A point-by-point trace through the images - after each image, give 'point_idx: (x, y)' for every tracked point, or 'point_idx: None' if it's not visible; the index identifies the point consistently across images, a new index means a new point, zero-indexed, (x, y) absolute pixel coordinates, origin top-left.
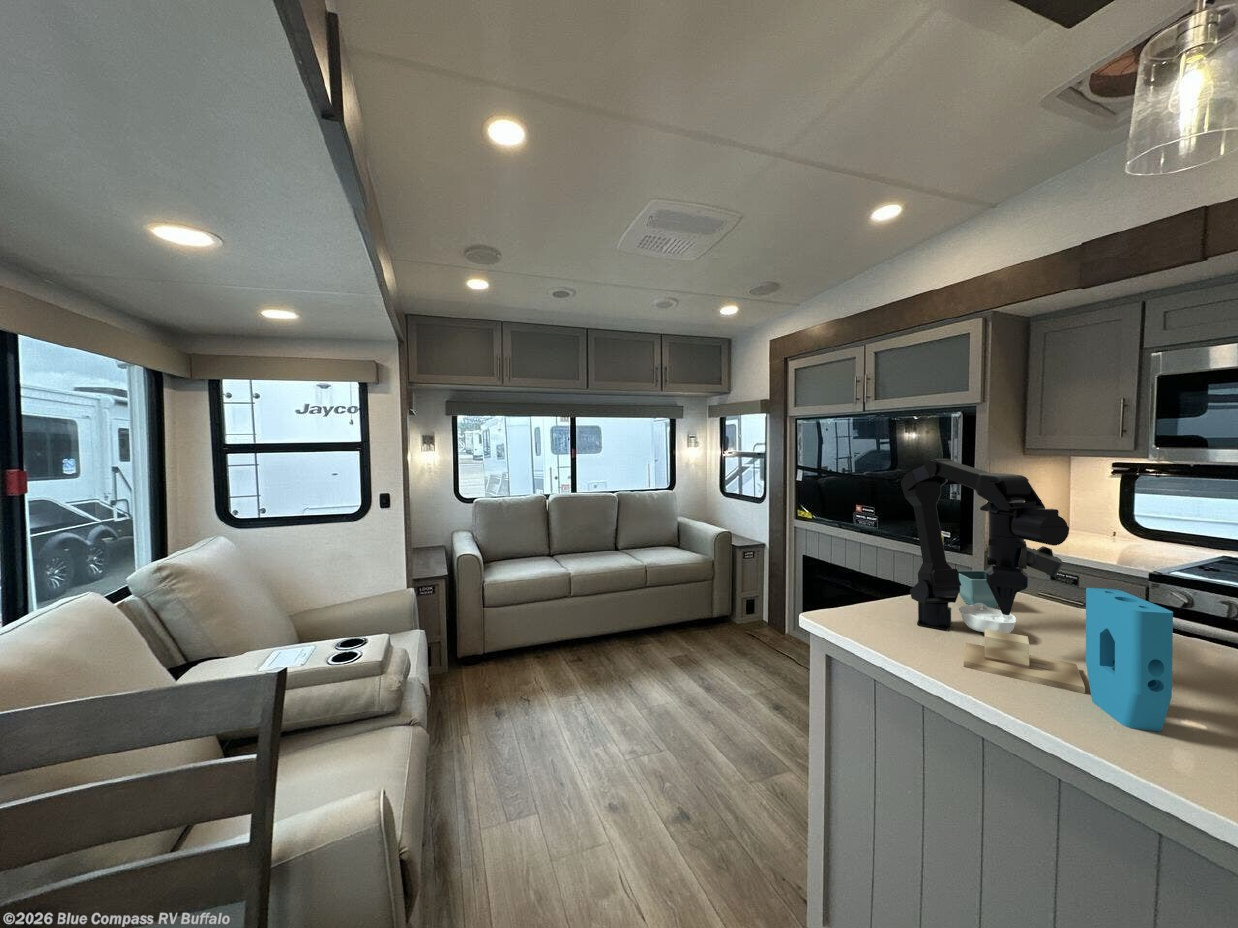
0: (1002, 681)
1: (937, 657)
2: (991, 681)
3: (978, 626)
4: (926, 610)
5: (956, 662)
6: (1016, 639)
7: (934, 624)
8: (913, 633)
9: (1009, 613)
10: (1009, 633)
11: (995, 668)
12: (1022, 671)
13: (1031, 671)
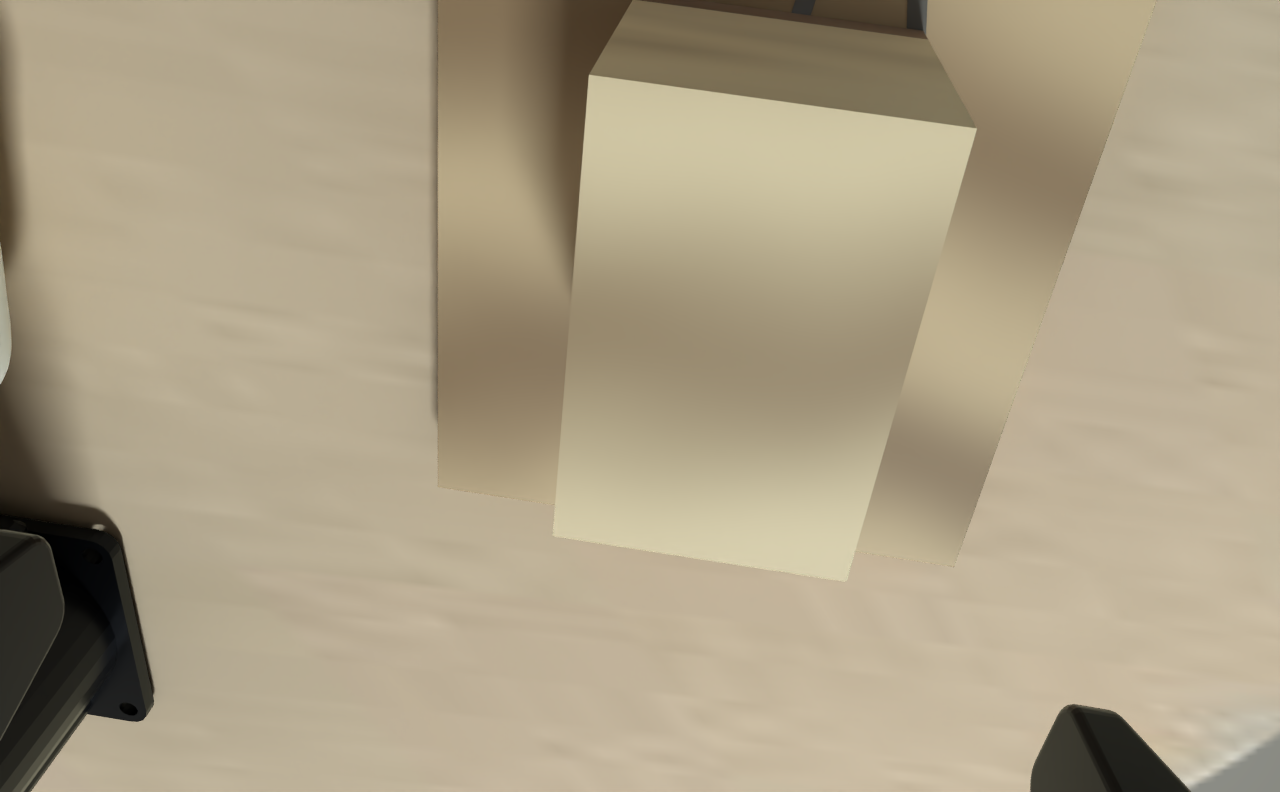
0: (1190, 295)
1: (817, 663)
2: (1217, 381)
3: (1, 375)
4: (29, 782)
5: (866, 562)
6: (813, 256)
7: (101, 634)
8: (364, 741)
9: (1142, 745)
10: (577, 295)
11: (1030, 350)
12: (1037, 118)
13: (1000, 21)
